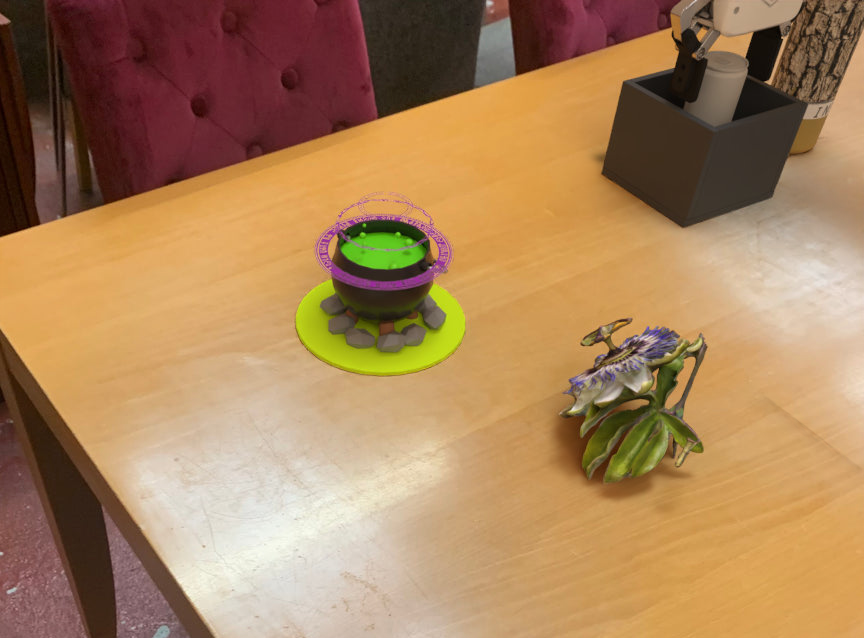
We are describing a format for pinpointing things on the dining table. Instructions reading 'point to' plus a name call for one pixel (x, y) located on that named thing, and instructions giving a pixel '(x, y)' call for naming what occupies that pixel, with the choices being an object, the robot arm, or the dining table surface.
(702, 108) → the beverage can
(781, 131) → the bin
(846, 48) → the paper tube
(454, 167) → the dining table surface
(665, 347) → the passion flower
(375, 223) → the toy cauldron
